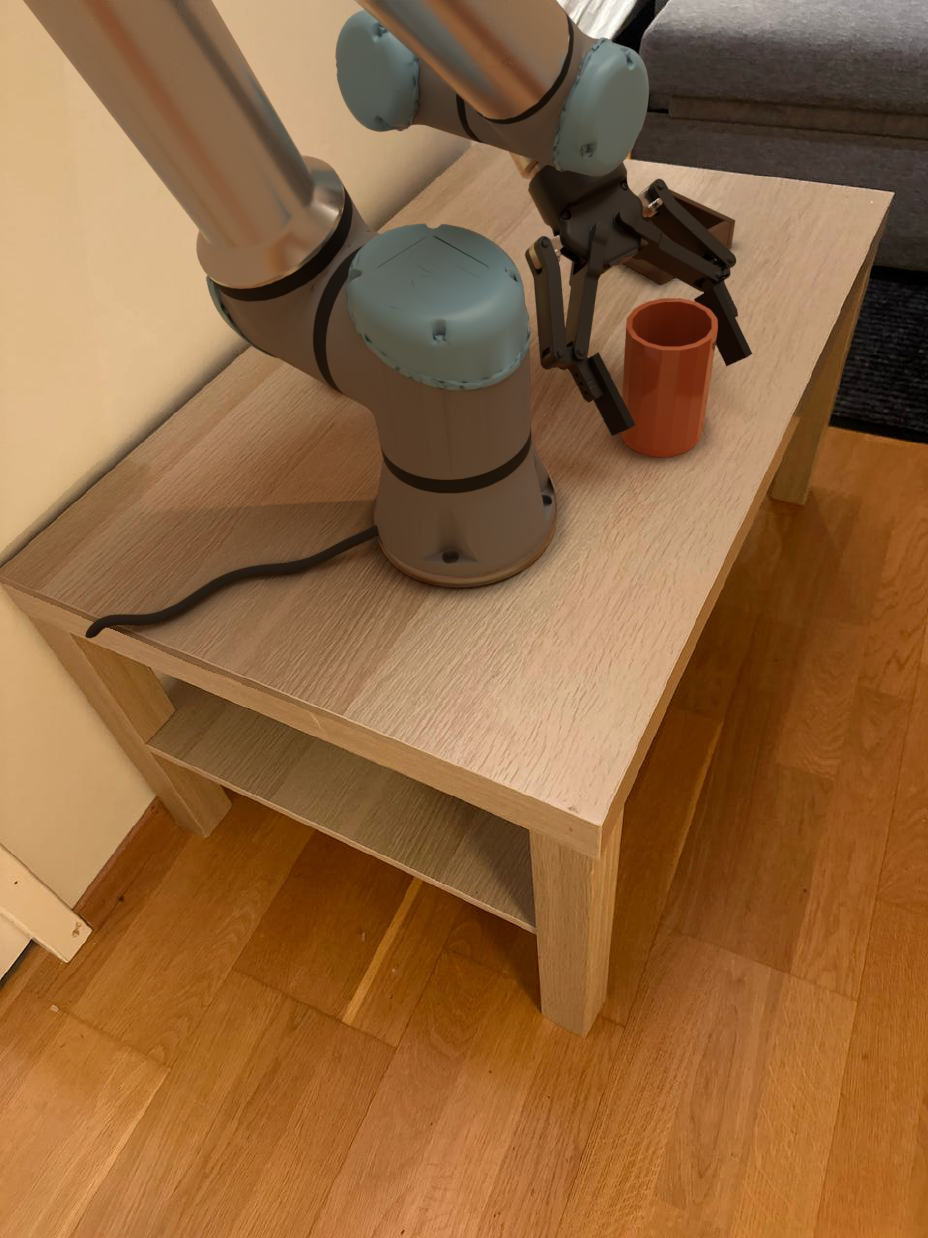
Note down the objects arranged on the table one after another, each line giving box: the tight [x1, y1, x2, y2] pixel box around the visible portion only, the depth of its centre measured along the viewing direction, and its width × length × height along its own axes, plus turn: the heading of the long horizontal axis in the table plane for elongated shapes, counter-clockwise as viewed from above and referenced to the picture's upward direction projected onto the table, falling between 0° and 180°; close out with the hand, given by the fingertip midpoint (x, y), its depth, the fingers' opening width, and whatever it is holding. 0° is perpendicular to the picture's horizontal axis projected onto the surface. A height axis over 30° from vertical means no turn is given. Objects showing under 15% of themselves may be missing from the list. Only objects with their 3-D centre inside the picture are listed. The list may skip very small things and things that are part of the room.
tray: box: [622, 188, 736, 285], centre depth 98 cm, size 11×11×3 cm
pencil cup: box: [620, 297, 718, 458], centre depth 76 cm, size 7×7×11 cm
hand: (683, 394), depth 76 cm, fingers open, 13 cm apart
